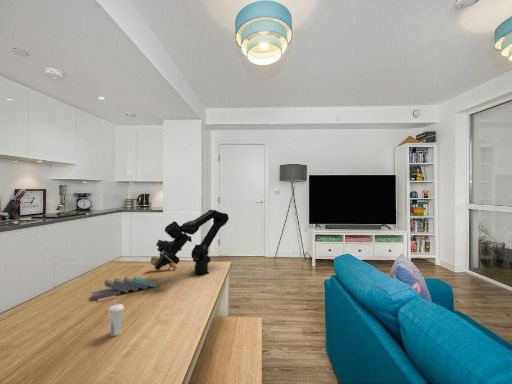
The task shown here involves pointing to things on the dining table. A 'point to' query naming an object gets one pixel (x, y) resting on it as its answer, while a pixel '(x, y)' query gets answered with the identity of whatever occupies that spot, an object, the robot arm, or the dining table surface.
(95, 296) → the domino
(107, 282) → the domino
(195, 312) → the dining table surface
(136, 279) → the domino
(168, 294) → the dining table surface
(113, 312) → the milkshake
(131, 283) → the domino
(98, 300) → the strip
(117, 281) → the domino
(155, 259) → the lion figurine
